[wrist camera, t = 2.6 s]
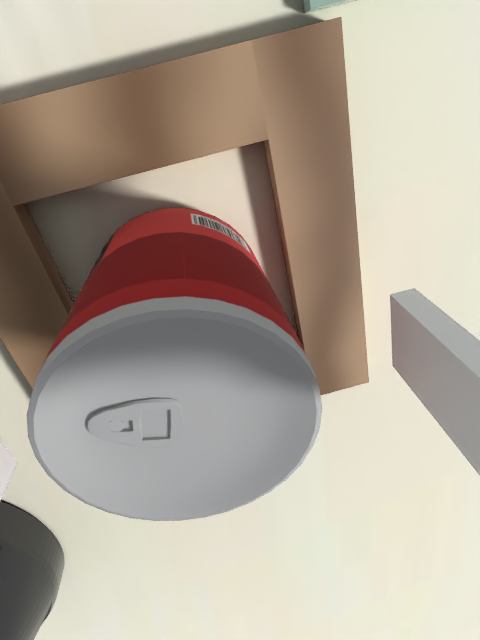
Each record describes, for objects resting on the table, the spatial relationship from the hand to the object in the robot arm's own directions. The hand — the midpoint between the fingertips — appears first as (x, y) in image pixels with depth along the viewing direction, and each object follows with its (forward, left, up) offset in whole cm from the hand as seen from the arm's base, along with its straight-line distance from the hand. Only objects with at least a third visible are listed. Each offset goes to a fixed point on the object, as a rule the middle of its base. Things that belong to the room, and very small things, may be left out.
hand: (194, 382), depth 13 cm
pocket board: (0, 0, -9) cm, 9 cm away
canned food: (0, 0, -9) cm, 9 cm away
